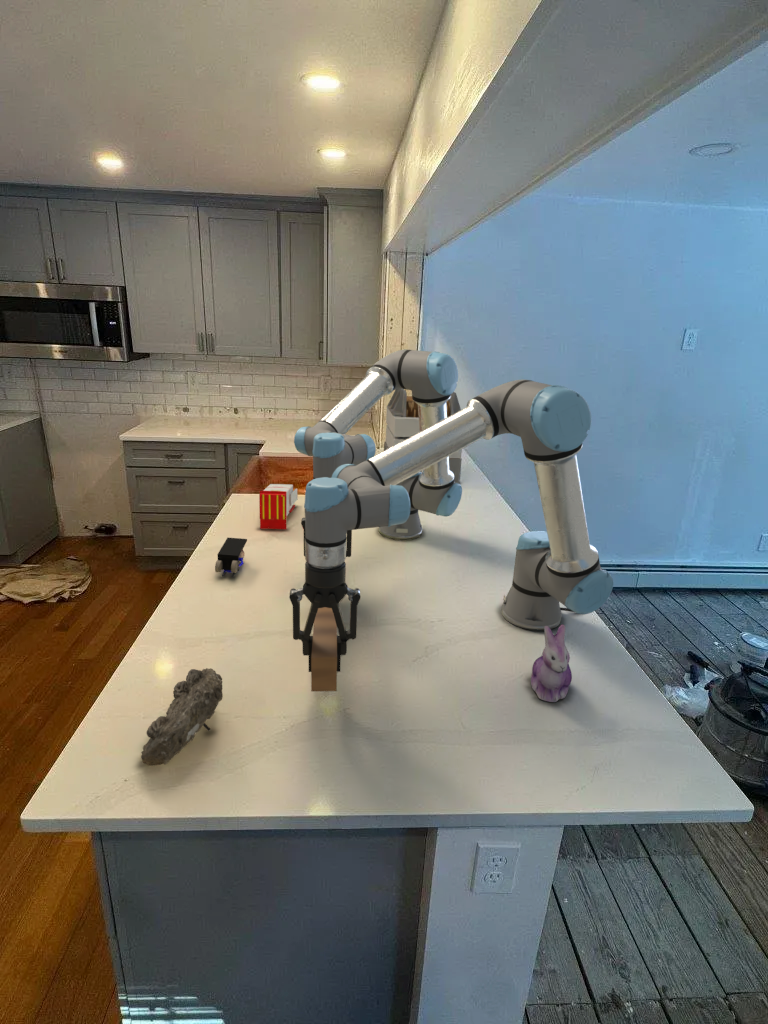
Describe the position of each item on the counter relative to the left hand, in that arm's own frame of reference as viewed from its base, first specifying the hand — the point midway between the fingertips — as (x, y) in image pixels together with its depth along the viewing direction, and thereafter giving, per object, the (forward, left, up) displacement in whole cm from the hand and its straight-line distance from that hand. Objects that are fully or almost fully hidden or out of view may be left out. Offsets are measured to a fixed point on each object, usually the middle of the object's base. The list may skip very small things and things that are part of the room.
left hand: (327, 580), depth 149 cm
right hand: (+31, -23, 0) cm, 38 cm away
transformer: (-78, +110, -7) cm, 135 cm away
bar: (+16, -11, -1) cm, 19 cm away
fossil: (+23, -47, -7) cm, 53 cm away
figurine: (+58, +17, -7) cm, 61 cm away
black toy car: (-33, -11, -7) cm, 35 cm away
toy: (-65, +24, -7) cm, 69 cm away
